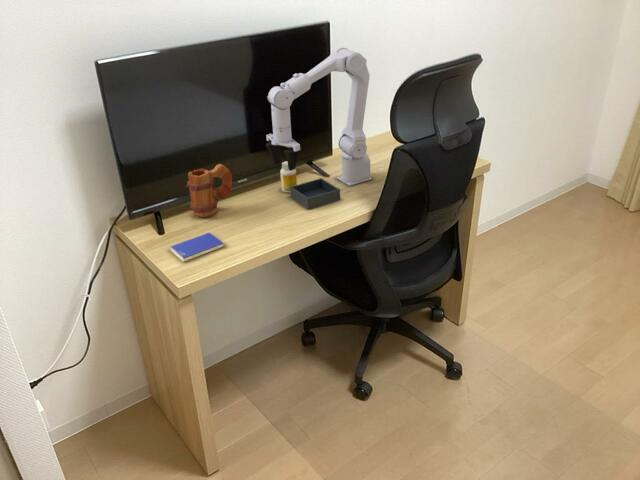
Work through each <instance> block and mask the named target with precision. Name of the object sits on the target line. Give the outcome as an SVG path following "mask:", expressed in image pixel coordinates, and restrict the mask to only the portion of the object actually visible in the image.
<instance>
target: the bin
mask: <svg viewBox="0 0 640 480" xmlns="http://www.w3.org/2000/svg"><path fill="white" fill-rule="evenodd" d="M290 198H291V199H292V200H294V201H295V202H297V203H298V204H299V205H301V206H302V207H304V208H305V209H307V210H312V209H315V208H318V207H322V206H325V205H328V204H331V203H334V202H337V201H340V200H341V189H340V188H338V187H336V186H335V185H333V184H332V183H330V182H328V181H327V180H325V179H323V178H322V177H321V178H317V179H313V180H310V181H307V182H303V183H299V184H297V185H296V186H292V187H290Z"/></svg>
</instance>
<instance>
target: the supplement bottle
mask: <svg viewBox="0 0 640 480" xmlns="http://www.w3.org/2000/svg"><path fill="white" fill-rule="evenodd" d="M279 177H280V189H281V191H282V192H283V193H290V187H292V186H296V185H298V178H297V169H296V168H295V169H294V170H291V171H290V170H289V168H288V162H287V160H285V161H282V163H281V169H280V172H279ZM290 194H291V193H290Z"/></svg>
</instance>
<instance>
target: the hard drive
mask: <svg viewBox="0 0 640 480" xmlns="http://www.w3.org/2000/svg"><path fill="white" fill-rule="evenodd" d="M223 247H224V243H223V242H222V241H221V240H220V239H219V238H217V237H216V236H214V235H213V234H212V232H207V233H204V234H201V235H198V236H195V237H193V238H190V239H187V240H185V241H181V242H179V243H176V244H173V245H171V246H169V249H170V252H171V253H172V254H174V255H175V256H176V257H177V258H178V259H180V260H181V261H182V262H186V261H189V260H191V259H192V260H193V259H195V258H197V257H201V256H203V255H205V254H207V253H210V252H212V251H215V250H218V249H220V248H223Z"/></svg>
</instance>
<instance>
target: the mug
mask: <svg viewBox="0 0 640 480" xmlns="http://www.w3.org/2000/svg"><path fill="white" fill-rule="evenodd" d="M192 171H193V170H192ZM192 171H189V172H188V174H187V179H188V180H189V181H188V180H187V183H186V185H185V188H186V189H188V190H189V195H190V201H191V202H190V206H189V207H188V209H189V210H190V211H192V213H193V215H195V216H197V217H200V218H201V217H202V218H206V217H210V216H212V215H214V214H215V213H216V212H217V211H218V202H219V199H218V198H221V199H224V200H225V199H226V198H227V197H228V195H229V194H230V191H231V189H232V186H233V176H232V172H231V171H230V170H229V169H228V167H226V165H224V164H222V163H218V164H216V165H215V167H214V168H213V169H210V170H208V169H205V168H199V169H197V170H195V169H194V171H193V172H192ZM215 178H219V179H222V180H221V181H222V182H221V185H220V187H219V188H214V182H215ZM217 197H218V198H217Z"/></svg>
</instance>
